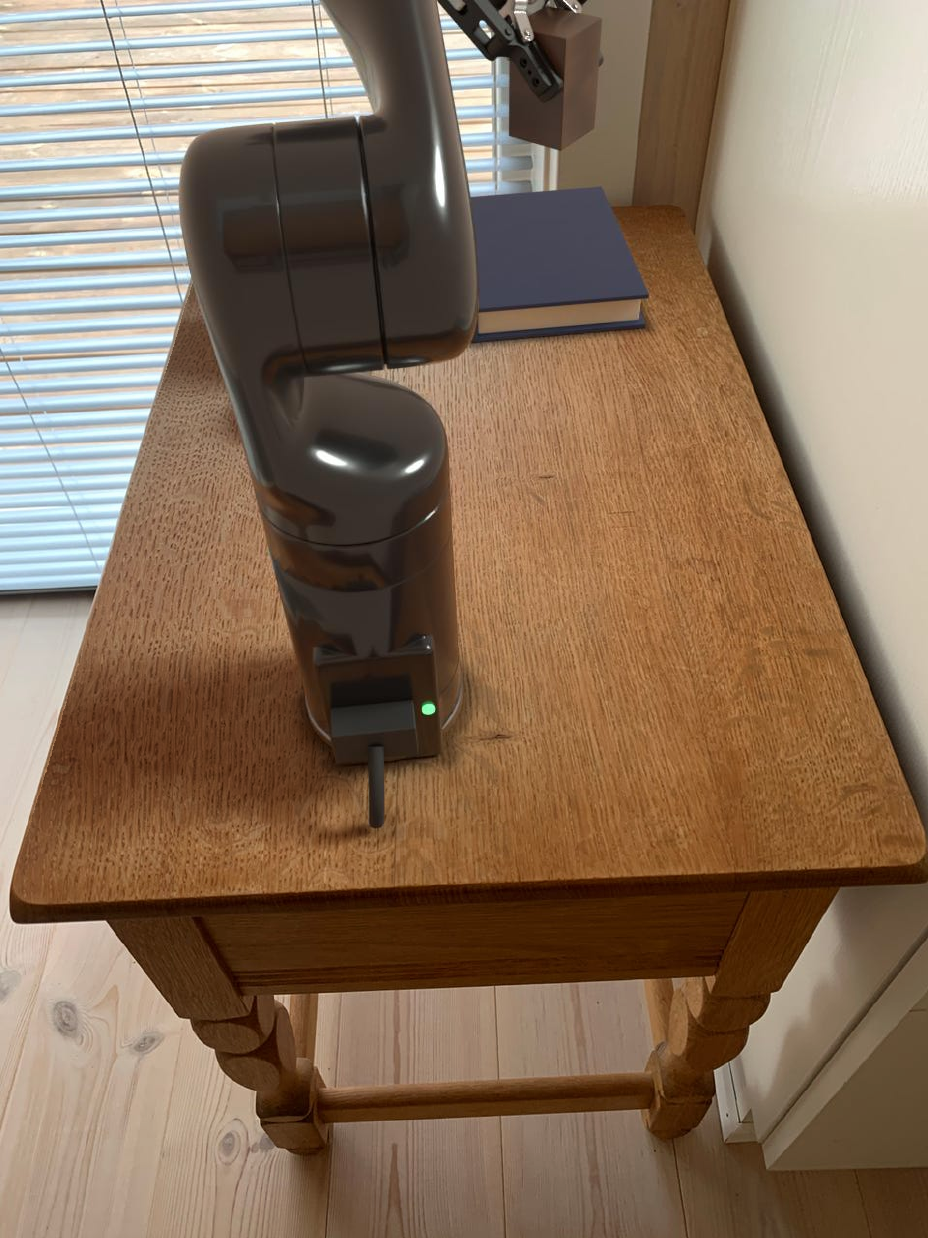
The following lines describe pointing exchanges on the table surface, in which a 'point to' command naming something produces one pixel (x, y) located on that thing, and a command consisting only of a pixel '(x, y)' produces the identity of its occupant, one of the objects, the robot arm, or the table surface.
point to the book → (553, 266)
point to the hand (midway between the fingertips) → (574, 81)
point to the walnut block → (577, 63)
